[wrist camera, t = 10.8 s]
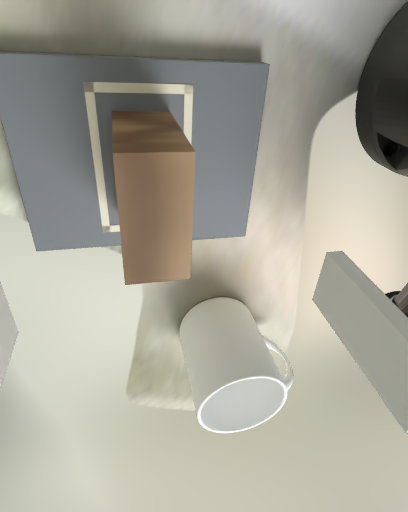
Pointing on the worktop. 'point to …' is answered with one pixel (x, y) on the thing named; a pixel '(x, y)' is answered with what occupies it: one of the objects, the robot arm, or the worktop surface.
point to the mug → (231, 367)
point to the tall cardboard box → (153, 195)
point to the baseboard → (100, 137)
